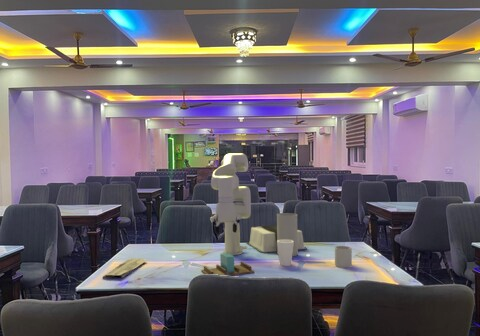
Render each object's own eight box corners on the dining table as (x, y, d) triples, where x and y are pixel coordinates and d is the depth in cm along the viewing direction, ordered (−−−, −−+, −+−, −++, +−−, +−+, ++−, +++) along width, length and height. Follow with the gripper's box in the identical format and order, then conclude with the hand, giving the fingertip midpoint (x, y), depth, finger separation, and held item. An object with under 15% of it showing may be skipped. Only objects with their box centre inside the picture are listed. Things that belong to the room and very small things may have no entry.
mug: (342, 268, 199) (342, 249, 199) (330, 264, 207) (330, 246, 207) (357, 265, 204) (357, 247, 204) (345, 262, 212) (345, 244, 212)
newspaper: (127, 262, 219) (127, 256, 219) (148, 262, 218) (148, 256, 218) (101, 280, 184) (101, 273, 184) (126, 280, 183) (125, 273, 183)
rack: (242, 266, 206) (242, 260, 206) (254, 272, 193) (254, 266, 193) (201, 271, 196) (201, 265, 196) (210, 278, 183) (210, 272, 183)
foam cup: (295, 262, 212) (295, 240, 212) (292, 267, 203) (291, 243, 203) (279, 261, 215) (278, 239, 215) (275, 265, 206) (274, 242, 206)
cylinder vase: (274, 256, 228) (274, 215, 228) (280, 251, 240) (280, 212, 239) (294, 257, 223) (294, 216, 223) (299, 253, 235) (299, 213, 235)
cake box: (245, 243, 268) (245, 226, 268) (288, 240, 278) (287, 223, 278) (262, 254, 235) (261, 234, 235) (309, 250, 244) (309, 231, 244)
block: (227, 267, 199) (227, 252, 199) (234, 271, 191) (234, 256, 191) (220, 268, 198) (220, 253, 198) (227, 272, 190) (227, 257, 190)
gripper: (237, 198, 202) (238, 230, 202) (207, 200, 195) (208, 233, 195) (243, 200, 195) (244, 232, 195) (212, 201, 188) (213, 235, 188)
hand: (226, 232), depth 195 cm, fingers open, 9 cm apart
